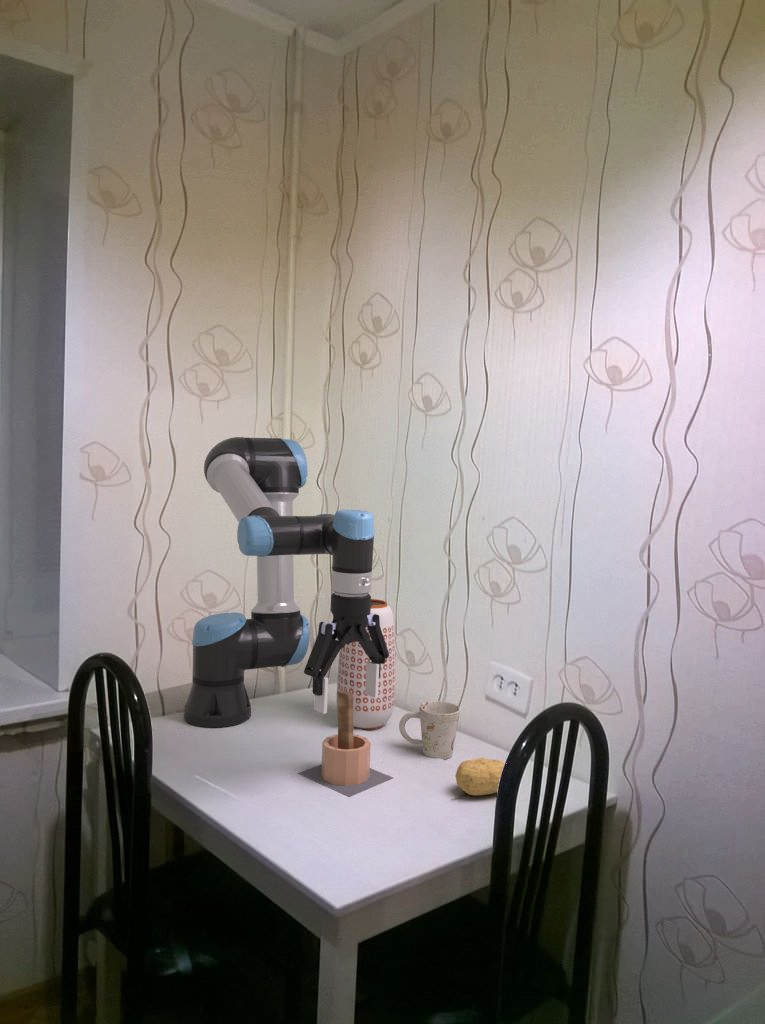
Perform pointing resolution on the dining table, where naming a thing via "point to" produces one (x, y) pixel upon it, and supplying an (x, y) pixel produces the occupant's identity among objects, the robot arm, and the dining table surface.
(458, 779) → the potato
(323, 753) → the jar
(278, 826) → the dining table surface
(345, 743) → the long wooden stick
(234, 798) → the dining table surface
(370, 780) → the mat
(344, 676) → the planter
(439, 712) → the mug
